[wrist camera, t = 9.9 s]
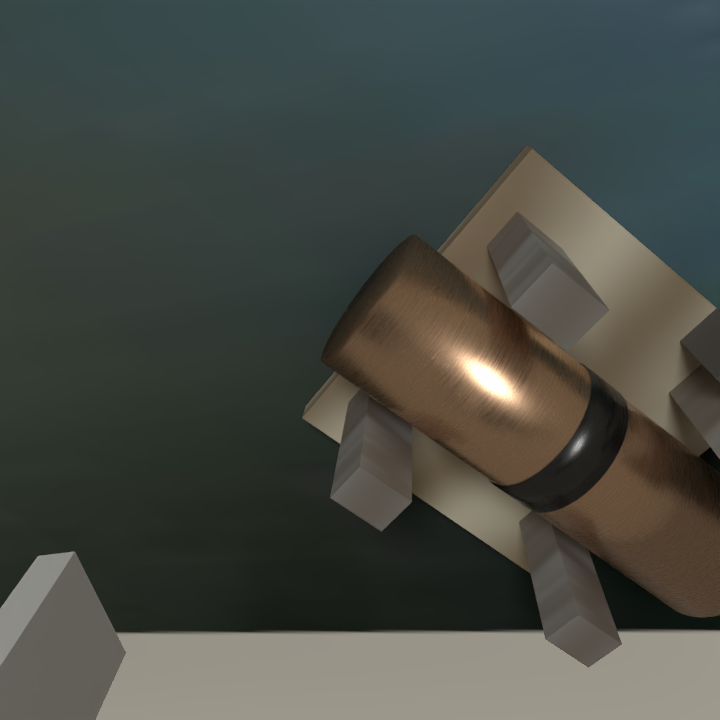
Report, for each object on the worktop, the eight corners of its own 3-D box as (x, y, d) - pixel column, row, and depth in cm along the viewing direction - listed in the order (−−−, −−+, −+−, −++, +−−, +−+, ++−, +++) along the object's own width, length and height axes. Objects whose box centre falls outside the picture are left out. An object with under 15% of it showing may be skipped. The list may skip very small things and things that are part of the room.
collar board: (306, 405, 26) (272, 515, 20) (527, 144, 21) (574, 181, 15) (537, 565, 29) (572, 706, 23) (782, 365, 24) (914, 475, 18)
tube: (706, 474, 26) (809, 526, 21) (630, 573, 26) (714, 647, 21) (399, 235, 23) (435, 230, 18) (315, 351, 23) (327, 378, 18)
